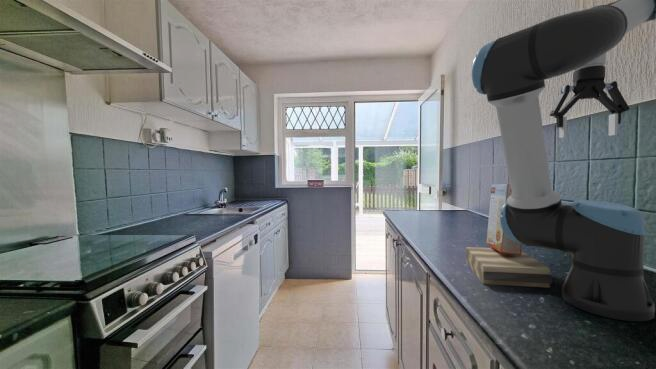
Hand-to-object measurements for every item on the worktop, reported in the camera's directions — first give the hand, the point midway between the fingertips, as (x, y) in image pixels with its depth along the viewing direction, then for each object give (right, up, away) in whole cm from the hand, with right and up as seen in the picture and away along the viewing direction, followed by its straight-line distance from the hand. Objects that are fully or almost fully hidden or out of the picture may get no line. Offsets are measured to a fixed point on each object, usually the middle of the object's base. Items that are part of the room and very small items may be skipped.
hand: (587, 136), depth 92 cm
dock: (-30, -42, -5) cm, 52 cm away
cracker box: (-27, -36, 0) cm, 45 cm away
